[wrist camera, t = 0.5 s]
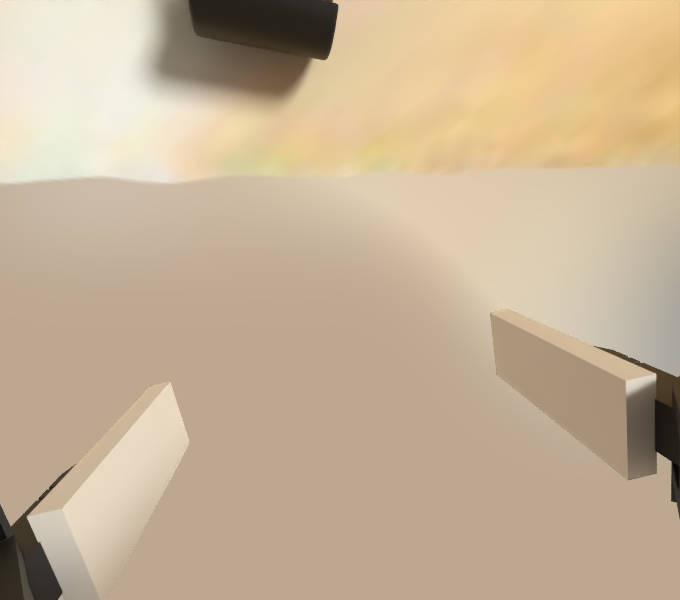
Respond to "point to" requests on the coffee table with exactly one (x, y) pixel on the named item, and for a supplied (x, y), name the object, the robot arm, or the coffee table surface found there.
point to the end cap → (269, 24)
